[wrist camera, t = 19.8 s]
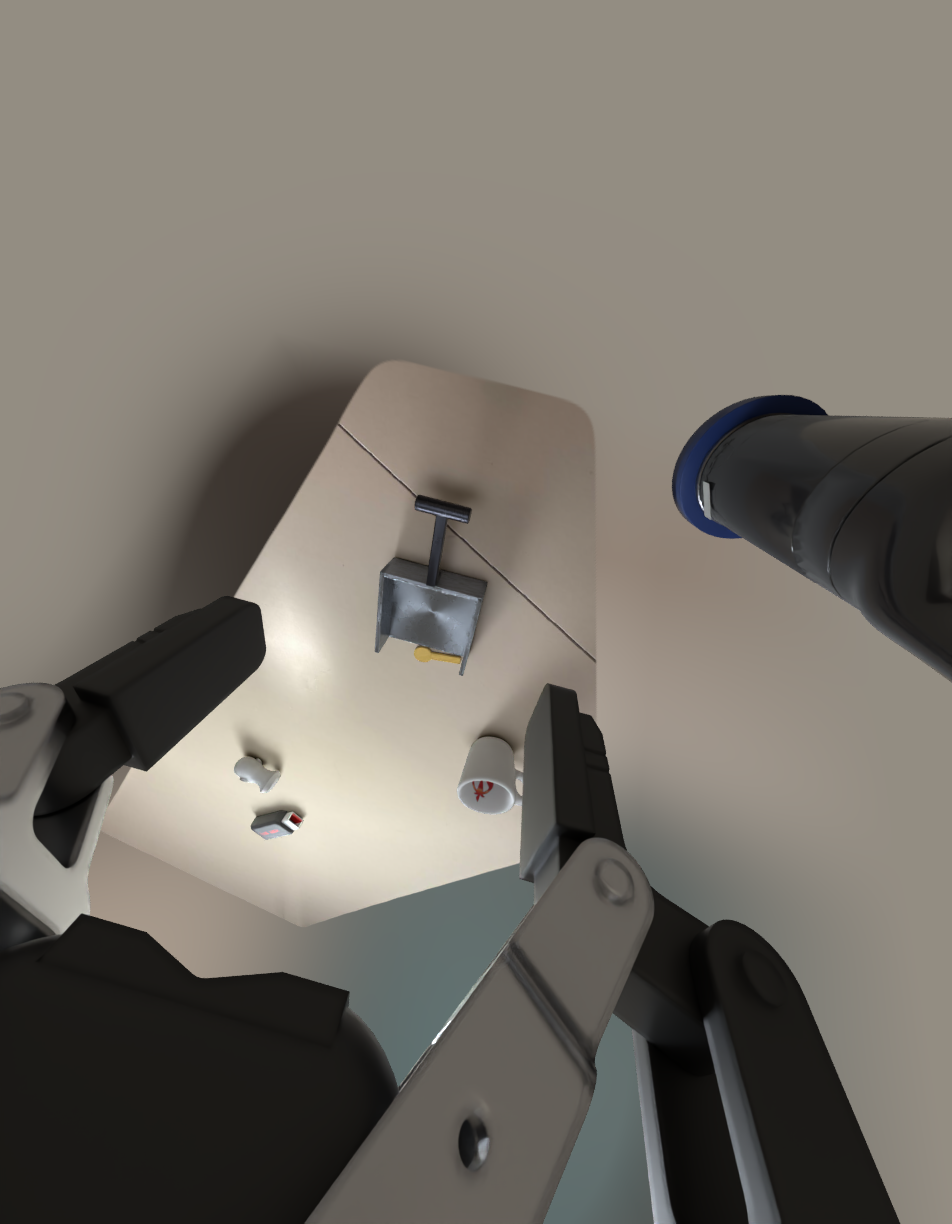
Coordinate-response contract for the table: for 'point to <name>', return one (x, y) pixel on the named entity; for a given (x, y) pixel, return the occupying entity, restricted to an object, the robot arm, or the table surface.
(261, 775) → the smooth white sculpture
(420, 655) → the yellow spoon
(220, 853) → the table surface
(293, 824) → the usb drive
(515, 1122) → the robot arm
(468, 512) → the metal dustpan with handle
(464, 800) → the cup
